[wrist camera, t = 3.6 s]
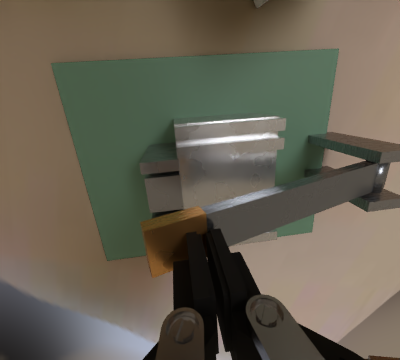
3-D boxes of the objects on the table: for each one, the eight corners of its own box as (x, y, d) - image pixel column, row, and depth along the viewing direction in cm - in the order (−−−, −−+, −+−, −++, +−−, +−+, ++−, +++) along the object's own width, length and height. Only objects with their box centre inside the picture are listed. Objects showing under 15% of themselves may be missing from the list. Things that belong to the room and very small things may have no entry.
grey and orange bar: (139, 219, 10) (144, 234, 9) (375, 154, 17) (396, 158, 16) (147, 262, 11) (153, 281, 10) (368, 184, 18) (387, 189, 17)
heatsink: (146, 120, 19) (128, 132, 12) (336, 105, 21) (434, 106, 13) (160, 213, 23) (154, 271, 15) (322, 193, 25) (393, 236, 17)
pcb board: (53, 64, 17) (50, 63, 17) (335, 49, 19) (339, 48, 19) (108, 258, 24) (107, 260, 24) (309, 230, 26) (311, 232, 26)
